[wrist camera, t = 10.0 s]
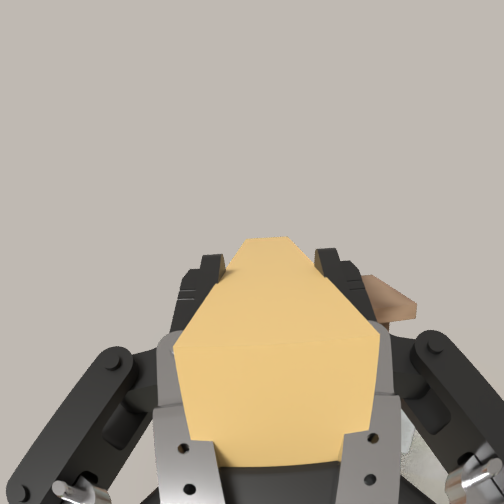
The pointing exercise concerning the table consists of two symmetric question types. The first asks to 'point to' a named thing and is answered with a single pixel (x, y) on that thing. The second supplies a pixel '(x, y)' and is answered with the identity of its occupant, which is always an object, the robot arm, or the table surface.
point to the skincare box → (406, 433)
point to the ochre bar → (276, 361)
